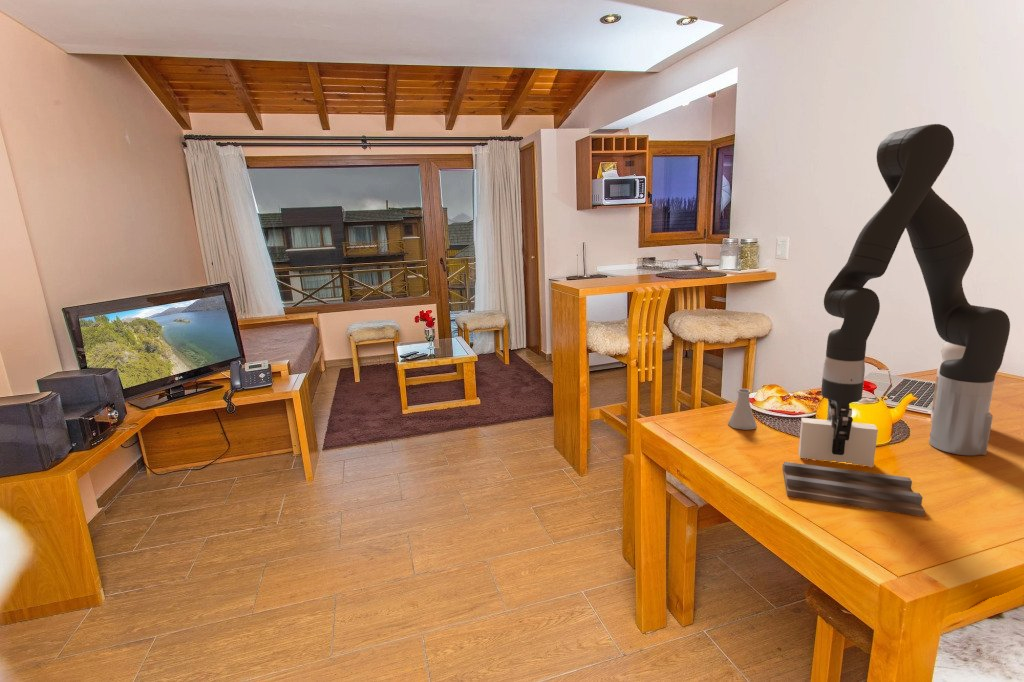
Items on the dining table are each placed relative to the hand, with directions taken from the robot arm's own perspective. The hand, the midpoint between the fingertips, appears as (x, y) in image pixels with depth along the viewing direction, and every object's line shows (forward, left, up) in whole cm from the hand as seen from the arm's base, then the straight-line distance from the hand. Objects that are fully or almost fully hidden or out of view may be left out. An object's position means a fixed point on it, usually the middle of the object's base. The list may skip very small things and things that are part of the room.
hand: (835, 448), depth 111 cm
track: (0, +14, -3) cm, 14 cm away
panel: (0, 0, -3) cm, 3 cm away
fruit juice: (-31, -32, -3) cm, 45 cm away
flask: (+19, -15, -3) cm, 24 cm away
